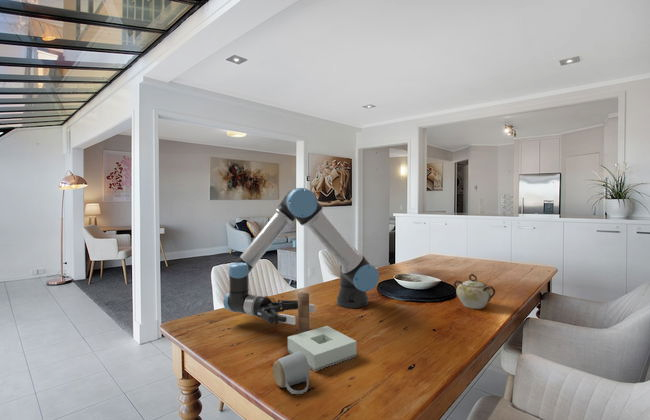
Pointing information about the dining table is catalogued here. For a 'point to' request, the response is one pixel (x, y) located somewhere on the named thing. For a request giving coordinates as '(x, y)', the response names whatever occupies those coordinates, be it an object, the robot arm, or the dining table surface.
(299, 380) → the ceramic mug
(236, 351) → the dining table surface
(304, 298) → the dowel
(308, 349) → the socket block
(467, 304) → the sugar bowl
